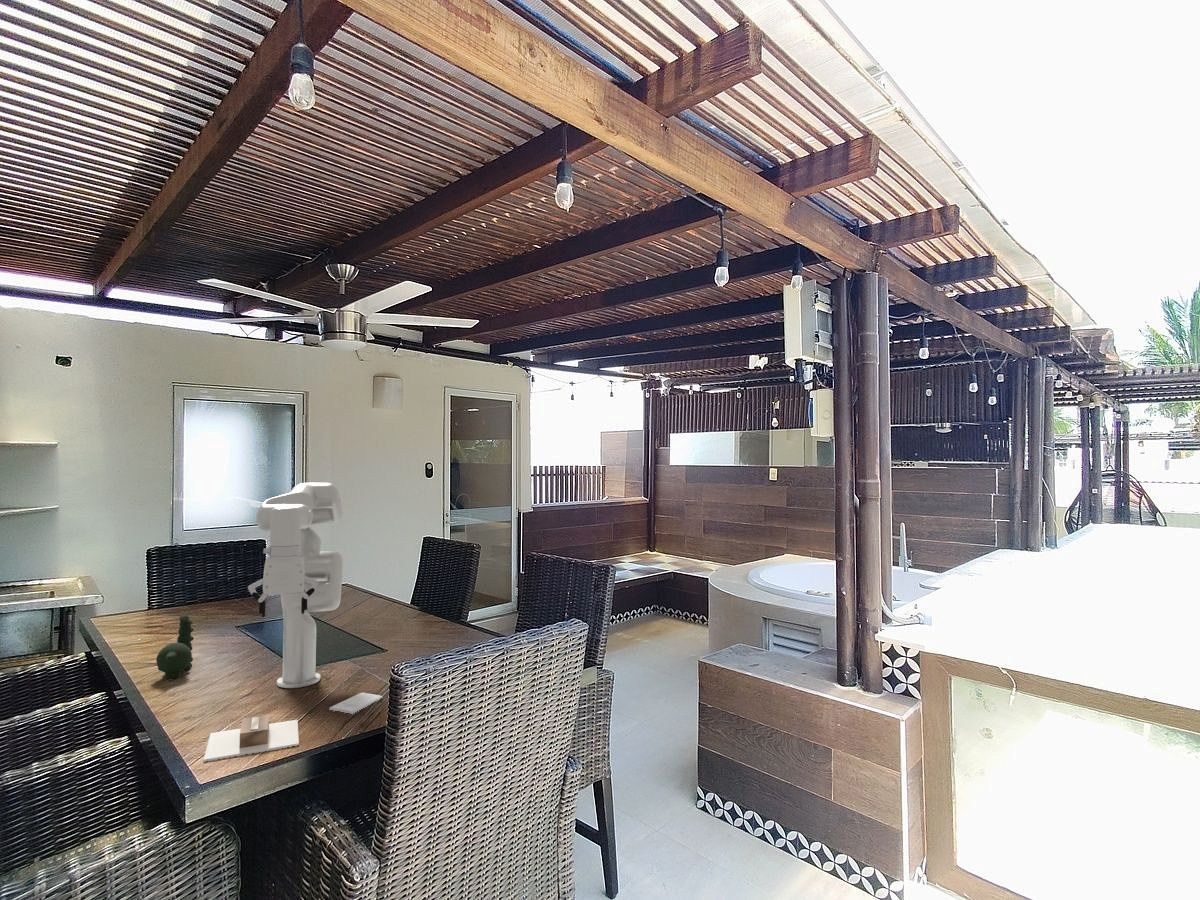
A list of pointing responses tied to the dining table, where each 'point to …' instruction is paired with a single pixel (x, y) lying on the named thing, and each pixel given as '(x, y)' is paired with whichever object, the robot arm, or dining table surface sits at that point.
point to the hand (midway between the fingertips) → (283, 614)
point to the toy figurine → (177, 652)
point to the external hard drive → (355, 703)
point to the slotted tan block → (254, 731)
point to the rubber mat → (229, 742)
